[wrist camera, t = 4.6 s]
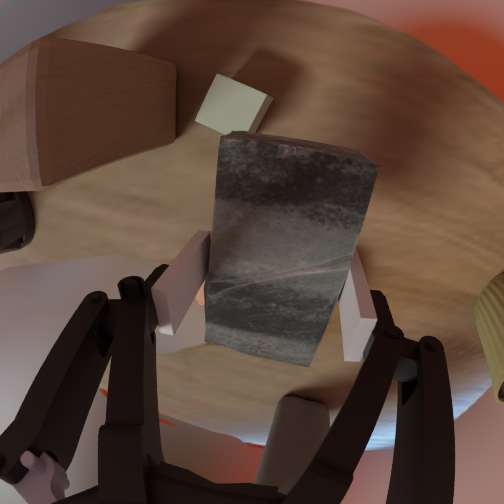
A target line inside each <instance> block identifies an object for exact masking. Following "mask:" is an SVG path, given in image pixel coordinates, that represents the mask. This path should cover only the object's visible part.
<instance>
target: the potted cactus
mask: <svg viewBox="0 0 504 504" xmlns="http://www.w3.org/2000/svg"><path fill="white" fill-rule="evenodd" d="M474 322H475V325H476V328H477V331H478V334H479V337H480V340H481V343H482V346H483V350H484V353H485V356H486V360H487V364H488V367H489V371H490V375H491V380H492V384H493V389H494V393H495V400H496V402H497V403H500V404H504V273H502V274H500V275H498V276H497V277H496V278H494V279H493V280H492V281H491V282H490V283H489V284H488V285H487V286H486V287H485V289H484V290H483V291H482V293H481V294H480V296H479V298H478V300H477V302H476V305H475V308H474Z"/></svg>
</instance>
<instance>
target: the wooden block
mask: <svg viewBox="0 0 504 504" xmlns="http://www.w3.org/2000/svg"><path fill="white" fill-rule="evenodd" d="M176 77H177V68H176V65H175V63H173V62H169V61H166V60H163V59H159V58H156V57H152V56H149V55H145V54H141V53H137V52H133V51H129V50H124V49H120V48H115V47H110V46H105V45H100V44H94V43H88V42H81V41H74V40H66V39H57V38H40V39H37V40H35V41H33V42H31V43H30V44H28V45H27V46H25V47H24V48H22V49H20V50H19V51H18V52H16V53H14V54H13V55H12V56H10V57H9V58H7V59H6V60H5V61H3V62H2V63H1V64H0V192H16V191H45V190H47V189H49V188H51V187H53V186H56V185H58V184H60V183H62V182H65V181H67V180H69V179H72V178H74V177H77V176H79V175H82V174H84V173H87V172H89V171H92V170H94V169H97V168H100V167H102V166H105V165H108V164H111V163H113V162H116V161H119V160H122V159H125V158H128V157H131V156H134V155H137V154H140V153H143V152H147V151H150V150H153V149H157V148H160V147H164V146H167V145H169V144H171V143H173V142H174V140H175V136H176Z"/></svg>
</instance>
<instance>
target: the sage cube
mask: <svg viewBox="0 0 504 504" xmlns="http://www.w3.org/2000/svg"><path fill="white" fill-rule="evenodd" d="M272 100H273V98H272V97H270V96H269V95H267V94H265V93H262V92H260V91H258V90H256V89H254V88H251V87H249V86H247V85H244V84H242V83H240V82H237V81H235V80H232V79H230V78H227V77H225V76H222V75H220V74H217V75H216V77H215V79H214V81H213V83H212V85H211V87H210V89H209V91H208V93H207V95H206V97H205V99H204V102H203V104H202V106H201V108H200V110H199V112H198V115H197V117H196V119H195V121H196V122H198V123H201V124H203V125H205V126H207V127H210V128H212V129H214V130H216V131H218V132H221V133H223V134H225V135H227V134H229V133H231V132H232V131H247V132H250V133H255V132H256V130H257V128H258V126H259V125H260V123H261V121H262V119H263V117H264V115H265V113H266V111H267V109H268V107H269V106H270V104H271V102H272Z"/></svg>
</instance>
